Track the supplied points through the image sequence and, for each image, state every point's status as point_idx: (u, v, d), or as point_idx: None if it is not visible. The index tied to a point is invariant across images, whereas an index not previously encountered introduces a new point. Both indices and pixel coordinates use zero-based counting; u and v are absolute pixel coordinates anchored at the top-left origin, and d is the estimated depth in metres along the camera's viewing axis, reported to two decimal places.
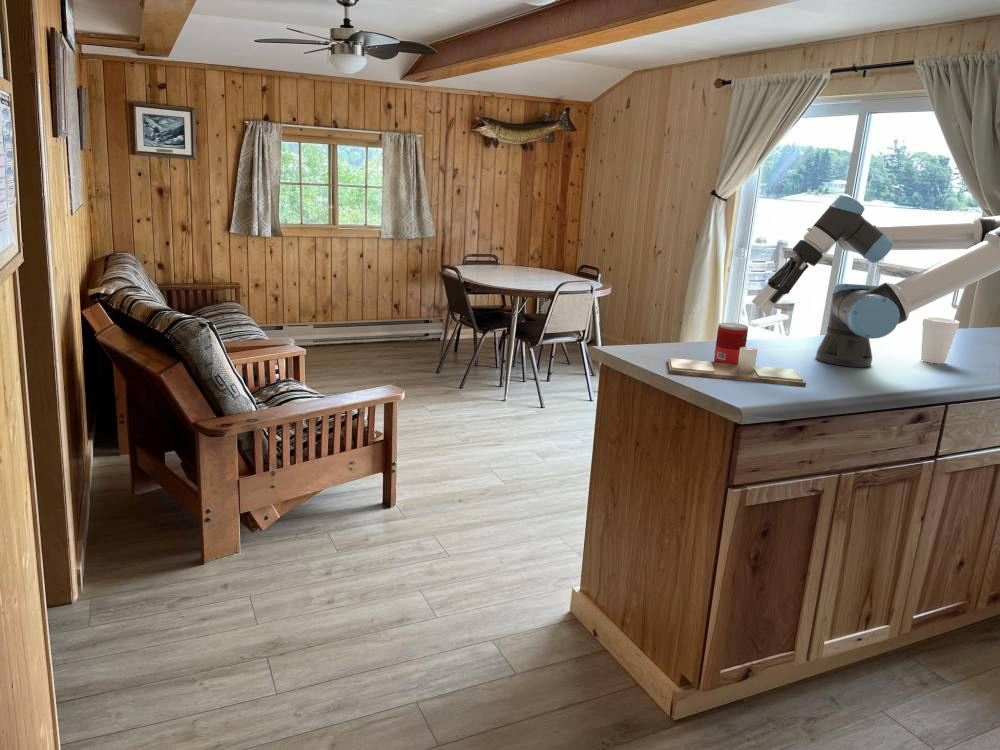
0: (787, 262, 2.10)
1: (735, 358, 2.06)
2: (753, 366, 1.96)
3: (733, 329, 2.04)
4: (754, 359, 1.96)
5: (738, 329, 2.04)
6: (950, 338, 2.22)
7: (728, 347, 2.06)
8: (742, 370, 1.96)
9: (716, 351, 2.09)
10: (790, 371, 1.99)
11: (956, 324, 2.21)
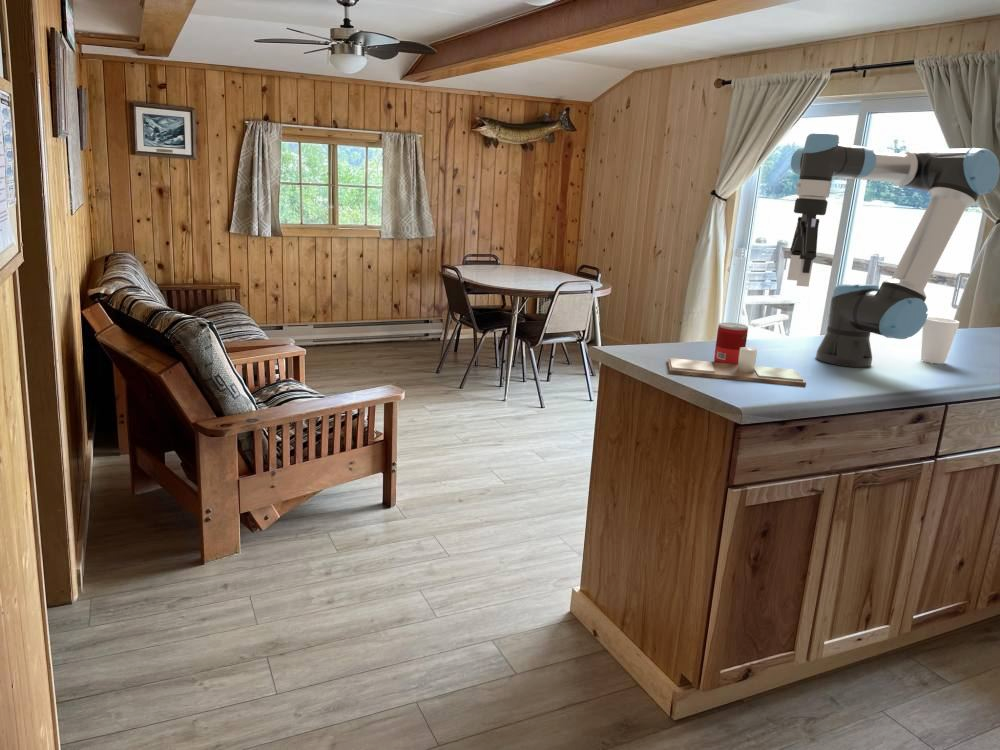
0: (797, 224, 1.94)
1: (735, 358, 2.06)
2: (753, 366, 1.96)
3: (733, 329, 2.04)
4: (754, 359, 1.96)
5: (738, 329, 2.04)
6: (950, 338, 2.22)
7: (728, 347, 2.06)
8: (742, 370, 1.96)
9: (716, 351, 2.09)
10: (790, 371, 1.99)
11: (956, 324, 2.21)
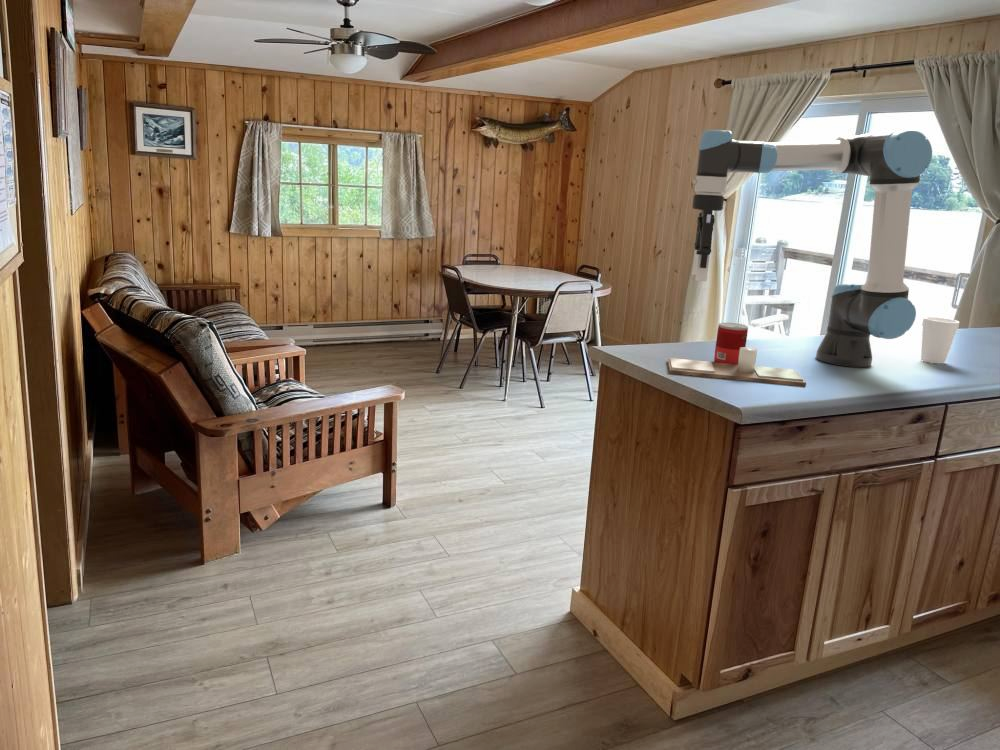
0: None
1: (735, 358, 2.06)
2: (753, 366, 1.96)
3: (733, 329, 2.04)
4: (754, 359, 1.96)
5: (738, 329, 2.04)
6: (950, 338, 2.22)
7: (728, 347, 2.06)
8: (742, 370, 1.96)
9: (716, 351, 2.09)
10: (790, 371, 1.99)
11: (956, 324, 2.21)
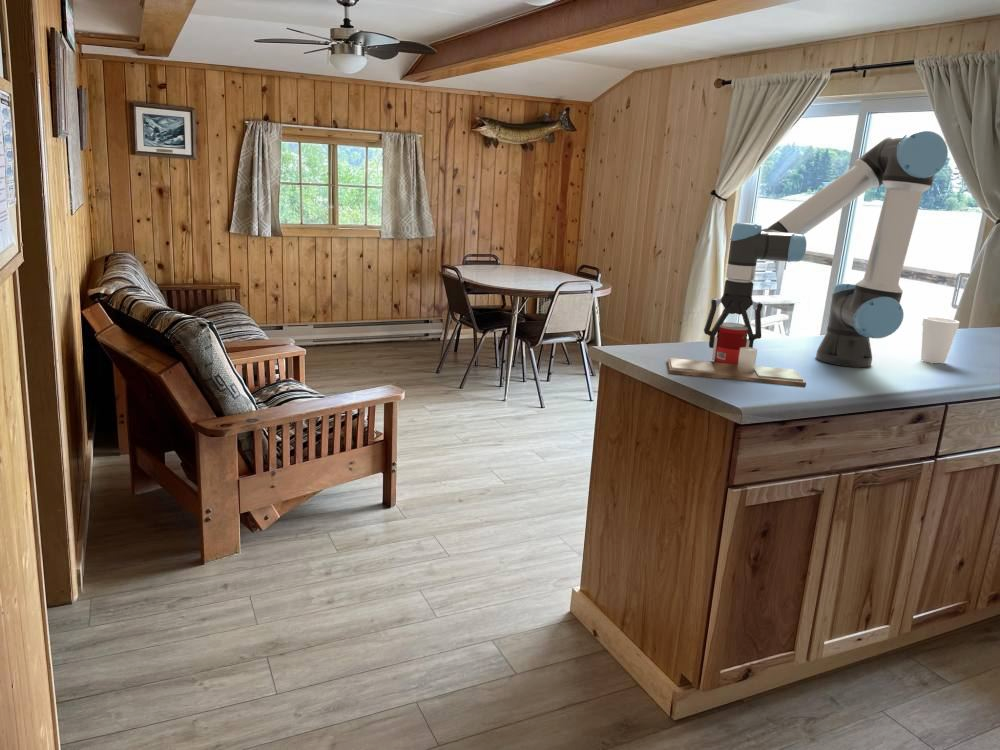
0: None
1: (735, 358, 2.06)
2: (753, 366, 1.96)
3: (733, 328, 2.04)
4: (754, 359, 1.96)
5: (738, 329, 2.04)
6: (950, 338, 2.22)
7: (728, 347, 2.06)
8: (742, 370, 1.96)
9: (716, 351, 2.09)
10: (790, 371, 1.99)
11: (956, 324, 2.21)
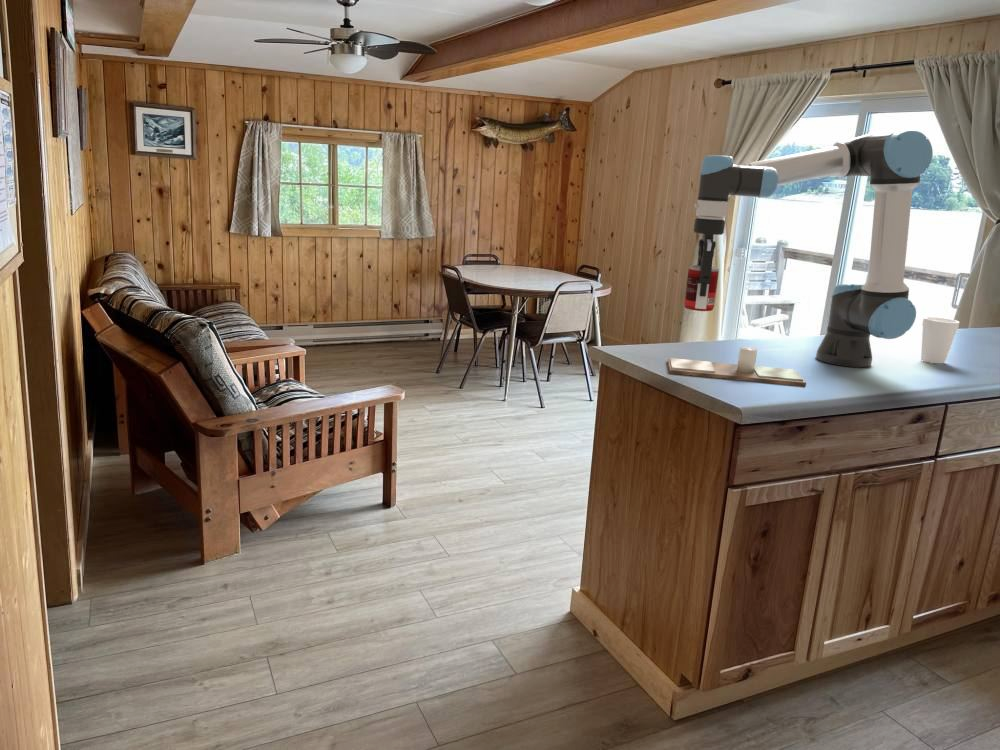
0: None
1: None
2: (753, 366, 1.96)
3: (718, 270, 1.93)
4: (754, 359, 1.96)
5: None
6: (950, 338, 2.22)
7: None
8: (742, 370, 1.96)
9: None
10: (790, 371, 1.99)
11: (956, 324, 2.21)
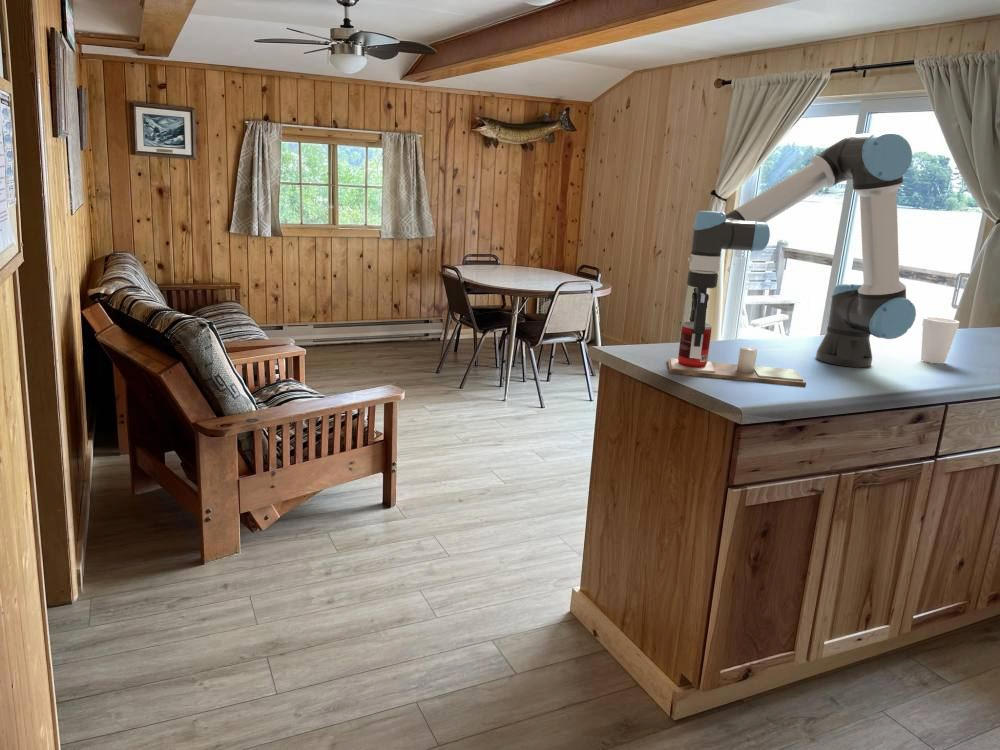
0: None
1: None
2: (753, 366, 1.96)
3: (711, 327, 1.96)
4: (754, 359, 1.96)
5: None
6: (950, 338, 2.22)
7: (708, 347, 1.97)
8: (742, 370, 1.96)
9: None
10: (790, 371, 1.99)
11: (956, 324, 2.21)
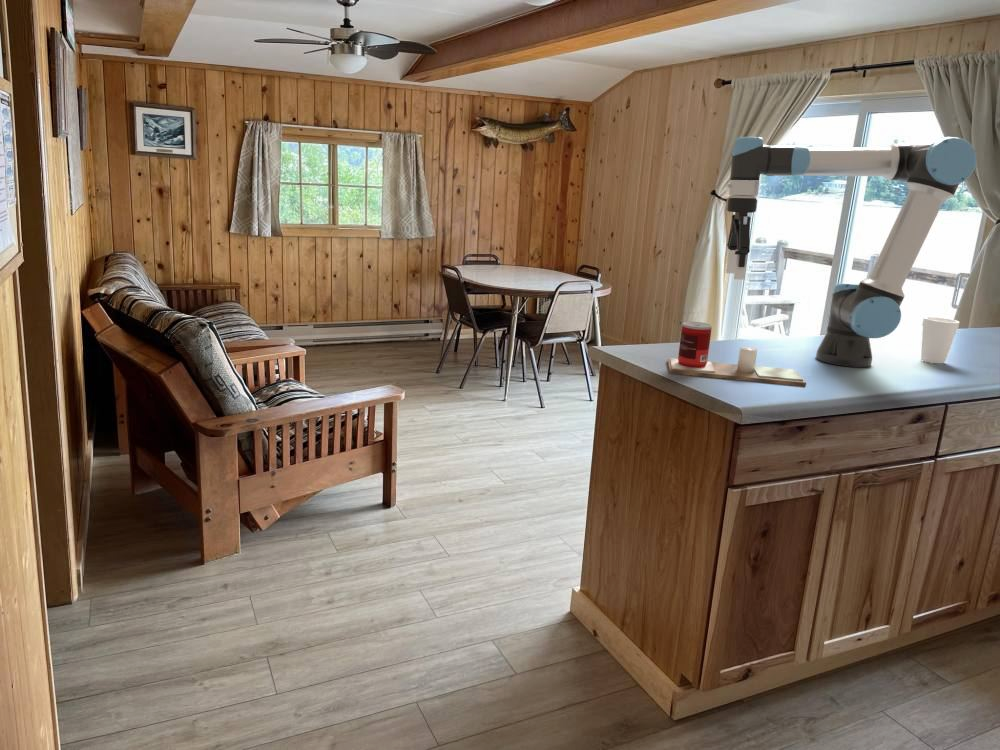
0: (731, 221, 2.08)
1: None
2: (753, 366, 1.96)
3: (711, 327, 1.96)
4: (754, 359, 1.96)
5: None
6: (950, 338, 2.22)
7: (708, 347, 1.97)
8: (742, 370, 1.96)
9: (698, 355, 1.96)
10: (790, 371, 1.99)
11: (956, 324, 2.21)
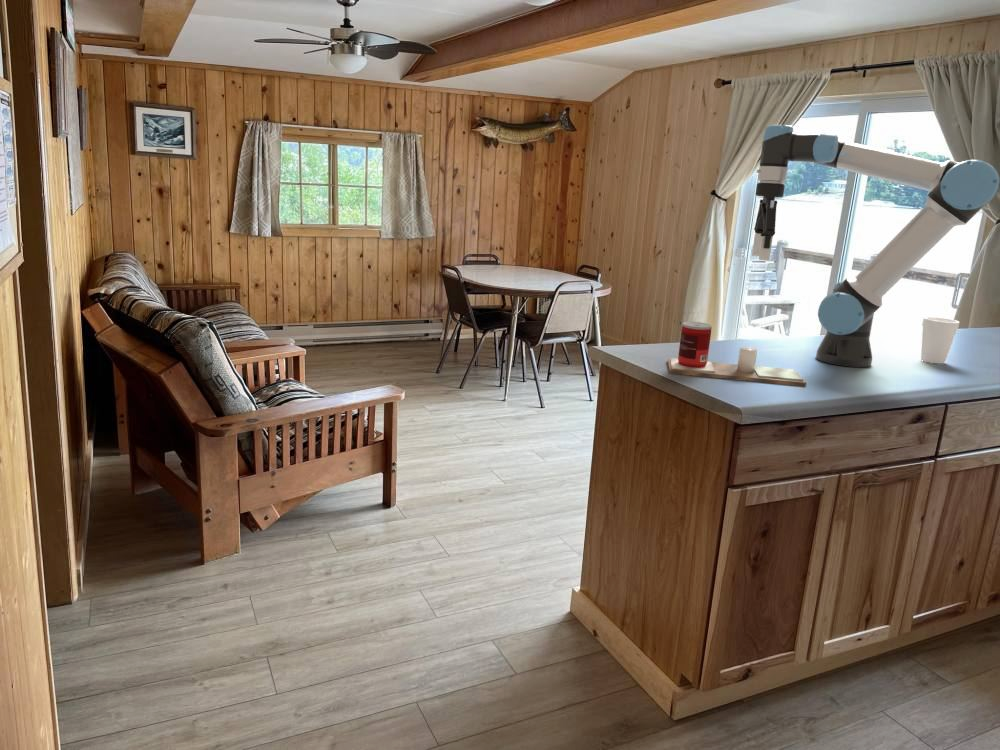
0: None
1: None
2: (753, 366, 1.96)
3: (711, 327, 1.96)
4: (754, 359, 1.96)
5: None
6: (950, 338, 2.22)
7: (708, 347, 1.97)
8: (742, 370, 1.96)
9: (698, 355, 1.96)
10: (790, 371, 1.99)
11: (956, 324, 2.21)
